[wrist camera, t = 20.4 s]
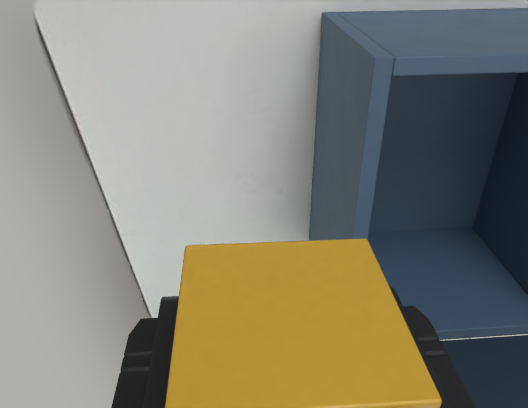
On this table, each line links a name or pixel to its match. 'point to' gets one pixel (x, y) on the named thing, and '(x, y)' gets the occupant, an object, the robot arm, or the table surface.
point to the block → (292, 330)
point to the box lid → (492, 369)
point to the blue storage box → (430, 158)
